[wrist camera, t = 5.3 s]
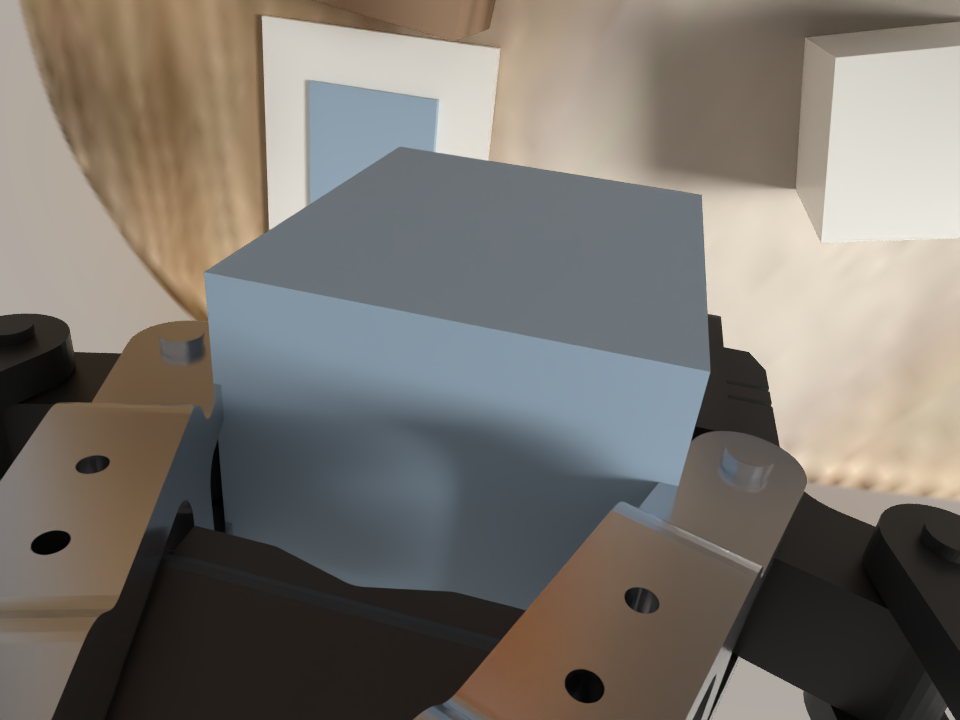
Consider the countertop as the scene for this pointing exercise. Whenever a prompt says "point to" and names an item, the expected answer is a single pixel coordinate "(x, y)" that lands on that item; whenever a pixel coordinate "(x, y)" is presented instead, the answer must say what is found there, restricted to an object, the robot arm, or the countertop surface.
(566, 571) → the robot arm
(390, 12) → the walnut base
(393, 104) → the card
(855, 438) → the countertop surface
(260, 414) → the slate block
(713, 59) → the countertop surface
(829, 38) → the white block
